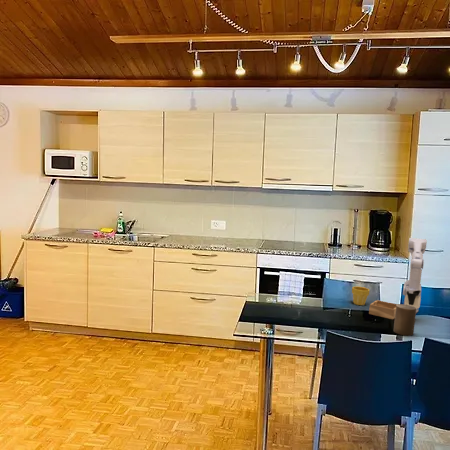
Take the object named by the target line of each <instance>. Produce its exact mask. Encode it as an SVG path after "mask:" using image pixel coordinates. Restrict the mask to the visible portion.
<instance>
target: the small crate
mask: <svg viewBox="0 0 450 450" xmlns="http://www.w3.org/2000/svg"><path fill="white" fill-rule="evenodd" d="M421 298H422V295H421V296H416V298H415V301H414V304H413V305H410V306H414V307H416V309H417V310H419V308H420V306H421V301H422V299H421ZM404 299H405V305H406V304H407V305H409V301H408V295H406V298H405V297H404Z"/></svg>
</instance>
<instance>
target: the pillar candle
mask: <svg viewBox="0 0 450 450" xmlns="http://www.w3.org/2000/svg"><path fill="white" fill-rule="evenodd" d="M416 314H417V313H416V307H414V306H410V305H407V304H406V305H404V303H403V304H402V303H399V304H398V305H396V314H395V318H394V321H393V322H394V323H393V332H394V333H396V334H397V335H401V336H407V337H408V336H410V337H411V335H412V336H413V335H414V334H415V333H414V332H415V323H416Z"/></svg>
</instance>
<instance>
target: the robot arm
mask: <svg viewBox="0 0 450 450" xmlns="http://www.w3.org/2000/svg"><path fill="white" fill-rule="evenodd" d="M427 242H428V241H427V239H426V238H425V239H424V238H417V237H415V238H414V237H409V238H408V244H407V245H408V247H407V250H408V251H407V252H409V253H410V255H411V259H410V266H409V267H410V268H409V270H410V272H409V278H408V279H409V280H406V281H404V283H403V290H402V295H403V296H404V299H403V300H404V301H403V304H404V305H405V298H406V295H408V301H409V305H413V304H414V301H415V298H416V296H421V297H422V284H421V282H422V281H421V280H422V271H423V269H424V264H425V262H424V261H425V260H424V258H423V256H424V255H423V254H425V251H426V249H427ZM418 312H419V309H416V314H417V313H418Z"/></svg>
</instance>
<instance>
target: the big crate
mask: <svg viewBox="0 0 450 450" xmlns="http://www.w3.org/2000/svg"><path fill="white" fill-rule="evenodd" d="M396 305H398V304H397V303H393V302H389V301H384V300H379V299H377V300H376V299H375V301H373V302H371V303H370V304H369V309H368V315H373V316H376V317H381V318H385V319H389V320H395V314H396Z"/></svg>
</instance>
